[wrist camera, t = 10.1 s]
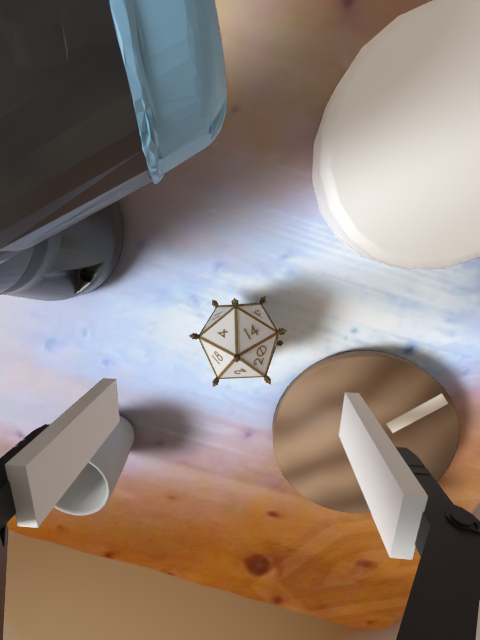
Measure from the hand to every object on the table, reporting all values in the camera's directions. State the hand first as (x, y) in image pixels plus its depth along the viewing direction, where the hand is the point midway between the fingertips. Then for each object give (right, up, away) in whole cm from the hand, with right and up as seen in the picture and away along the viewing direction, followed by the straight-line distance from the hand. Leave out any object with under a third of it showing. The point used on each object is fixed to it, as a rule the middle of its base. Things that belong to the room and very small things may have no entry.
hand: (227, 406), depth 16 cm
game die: (+1, +4, +16) cm, 17 cm away
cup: (-17, -9, +21) cm, 28 cm away
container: (+17, +20, +11) cm, 29 cm away
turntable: (+15, -8, +18) cm, 25 cm away
